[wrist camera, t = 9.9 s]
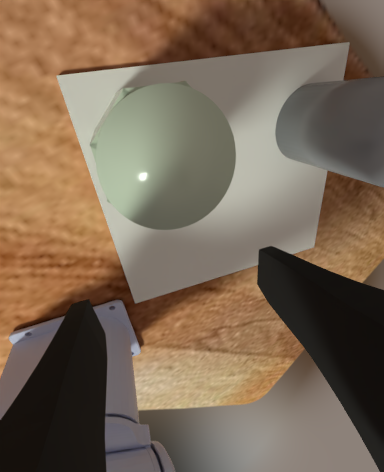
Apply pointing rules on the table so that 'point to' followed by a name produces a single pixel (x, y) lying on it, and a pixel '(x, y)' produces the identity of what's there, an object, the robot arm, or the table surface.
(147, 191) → the sage cup
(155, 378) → the table surface
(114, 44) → the table surface
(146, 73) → the grey mat
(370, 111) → the grey pillar candle
